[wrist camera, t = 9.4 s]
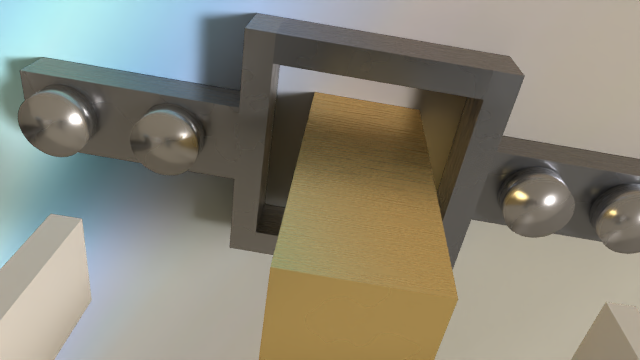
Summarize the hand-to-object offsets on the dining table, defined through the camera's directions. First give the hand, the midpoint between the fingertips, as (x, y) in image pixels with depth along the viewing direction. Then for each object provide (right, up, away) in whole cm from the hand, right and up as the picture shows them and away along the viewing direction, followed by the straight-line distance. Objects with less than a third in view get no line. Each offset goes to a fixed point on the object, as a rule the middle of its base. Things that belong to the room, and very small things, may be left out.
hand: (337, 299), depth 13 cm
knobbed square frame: (+1, +4, +7) cm, 8 cm away
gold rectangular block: (+1, +4, +7) cm, 9 cm away
